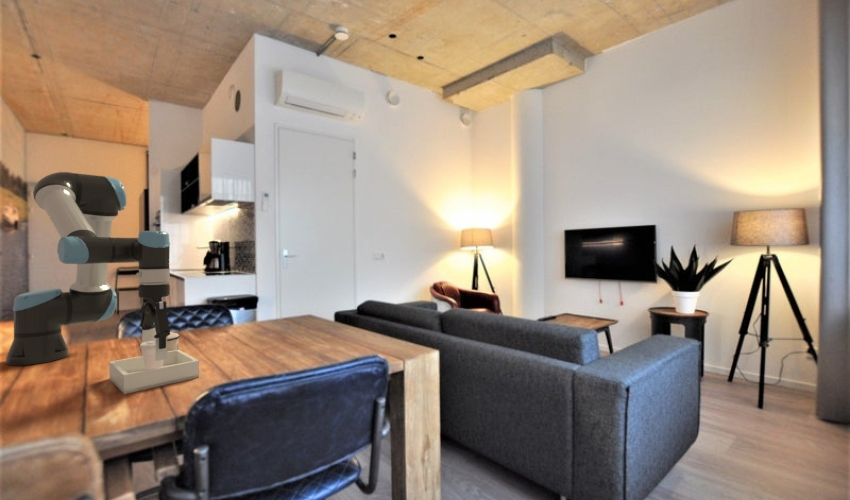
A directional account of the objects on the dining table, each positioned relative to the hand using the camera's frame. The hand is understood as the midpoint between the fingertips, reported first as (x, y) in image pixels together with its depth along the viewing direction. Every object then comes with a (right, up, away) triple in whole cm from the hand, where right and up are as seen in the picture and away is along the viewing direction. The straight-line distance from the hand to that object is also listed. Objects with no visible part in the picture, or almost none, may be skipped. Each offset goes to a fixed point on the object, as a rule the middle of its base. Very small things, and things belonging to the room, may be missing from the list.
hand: (154, 355), depth 116 cm
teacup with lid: (-8, -7, +15) cm, 18 cm away
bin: (0, -7, 0) cm, 7 cm away
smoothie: (0, -6, 0) cm, 6 cm away
